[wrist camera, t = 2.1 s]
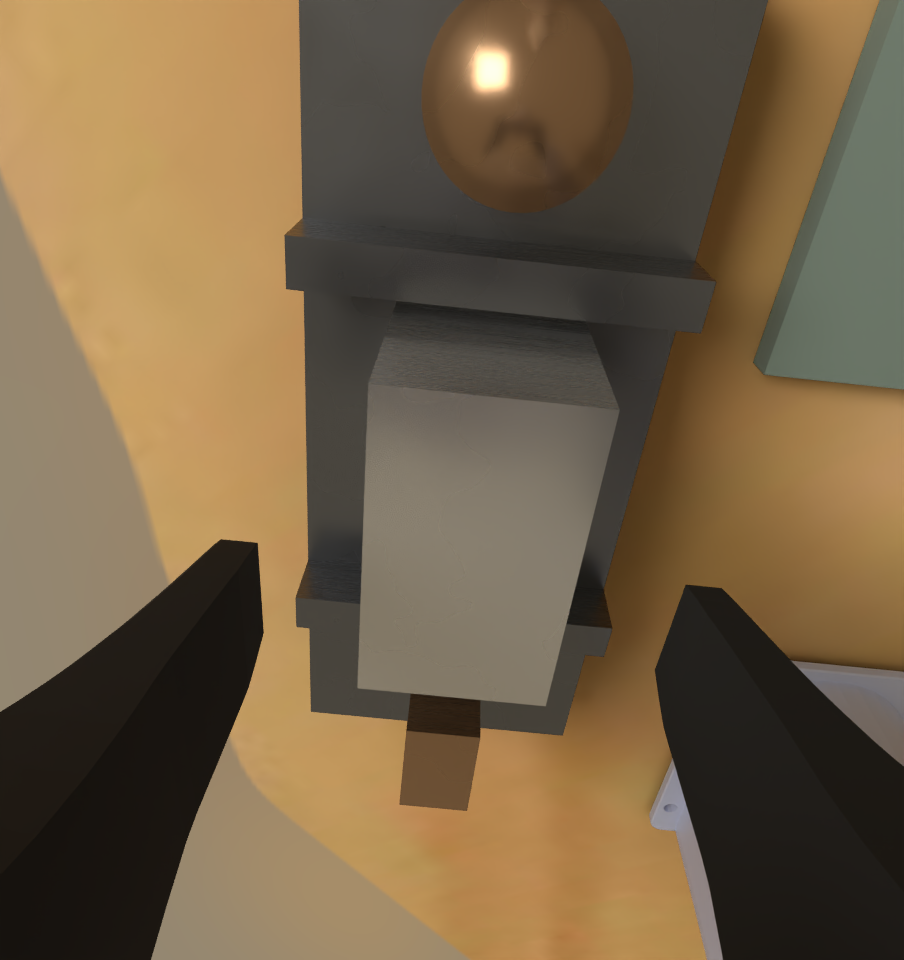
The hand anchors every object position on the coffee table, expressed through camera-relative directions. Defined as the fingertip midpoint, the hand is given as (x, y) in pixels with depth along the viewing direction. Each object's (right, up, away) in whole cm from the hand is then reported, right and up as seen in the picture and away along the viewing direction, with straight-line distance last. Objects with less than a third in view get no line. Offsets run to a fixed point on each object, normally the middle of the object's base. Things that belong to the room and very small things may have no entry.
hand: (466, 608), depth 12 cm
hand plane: (0, +4, +7) cm, 8 cm away
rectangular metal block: (0, +3, +5) cm, 6 cm away
